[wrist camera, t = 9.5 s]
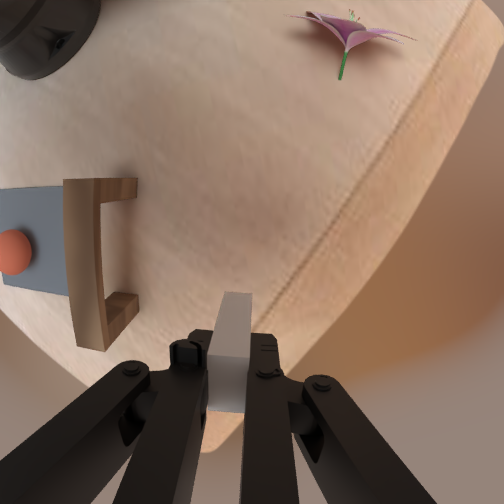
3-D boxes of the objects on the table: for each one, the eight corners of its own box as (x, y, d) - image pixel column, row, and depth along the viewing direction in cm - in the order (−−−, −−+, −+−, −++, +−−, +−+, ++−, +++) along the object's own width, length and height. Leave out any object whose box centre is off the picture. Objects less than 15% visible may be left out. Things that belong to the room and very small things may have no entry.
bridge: (115, 308, 33) (77, 346, 24) (111, 178, 29) (63, 179, 20) (139, 311, 33) (104, 352, 24) (137, 178, 29) (93, 178, 20)
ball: (-18, 233, 25) (18, 231, 26) (3, 227, 30) (36, 226, 31) (-13, 280, 26) (22, 280, 27) (7, 269, 31) (40, 269, 32)
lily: (406, 72, 27) (430, 8, 18) (374, 130, 25) (405, 50, 16) (314, 32, 30) (320, -33, 21) (262, 78, 27) (257, -2, 18)
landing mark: (-3, 189, 30) (-4, 189, 29) (67, 186, 30) (66, 186, 29) (4, 283, 32) (3, 284, 32) (72, 296, 32) (71, 296, 32)
